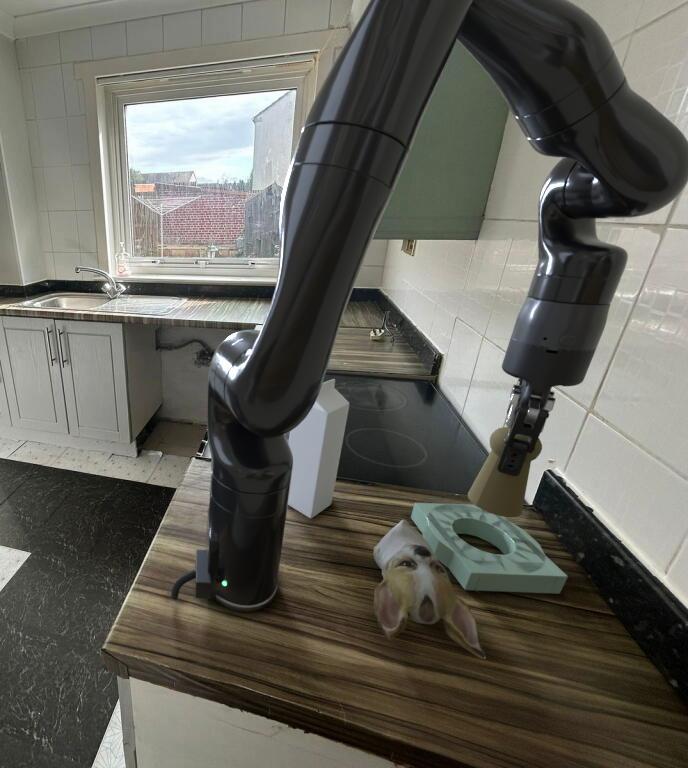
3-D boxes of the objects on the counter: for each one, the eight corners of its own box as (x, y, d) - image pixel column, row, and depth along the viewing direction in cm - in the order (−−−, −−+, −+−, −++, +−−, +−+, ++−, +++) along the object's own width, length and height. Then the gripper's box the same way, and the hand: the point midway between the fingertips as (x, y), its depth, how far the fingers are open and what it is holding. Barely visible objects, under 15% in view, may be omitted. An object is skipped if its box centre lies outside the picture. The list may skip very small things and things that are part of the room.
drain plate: (458, 590, 52) (464, 572, 51) (405, 517, 65) (409, 502, 64) (566, 594, 52) (575, 576, 51) (491, 520, 65) (497, 505, 64)
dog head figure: (451, 515, 52) (511, 623, 39) (434, 563, 56) (484, 677, 43) (363, 504, 54) (392, 602, 41) (352, 551, 58) (376, 655, 45)
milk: (331, 504, 68) (354, 384, 60) (310, 519, 65) (332, 393, 56) (301, 487, 72) (319, 372, 64) (279, 500, 69) (296, 380, 61)
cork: (502, 490, 58) (527, 422, 54) (533, 519, 52) (563, 445, 48) (458, 488, 58) (479, 420, 54) (484, 515, 53) (509, 442, 49)
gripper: (513, 323, 54) (478, 434, 60) (510, 345, 44) (468, 477, 50) (590, 332, 50) (543, 451, 56) (606, 359, 39) (547, 501, 46)
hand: (508, 462), depth 53 cm, fingers closed on cork, 5 cm apart
